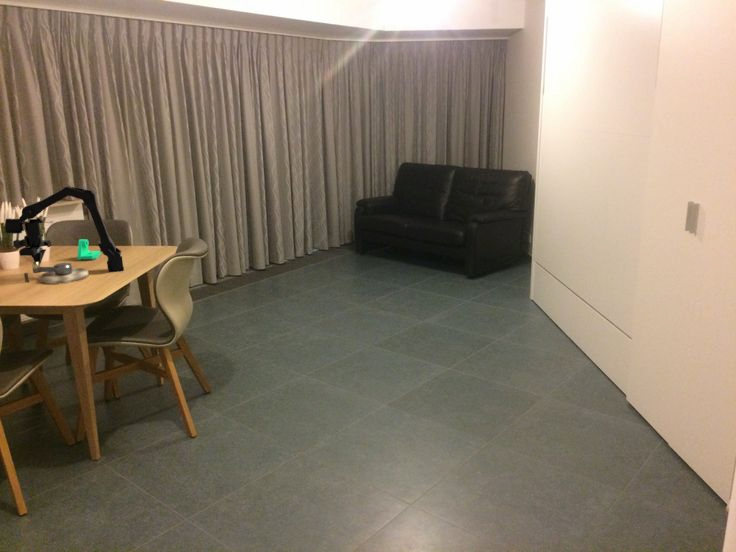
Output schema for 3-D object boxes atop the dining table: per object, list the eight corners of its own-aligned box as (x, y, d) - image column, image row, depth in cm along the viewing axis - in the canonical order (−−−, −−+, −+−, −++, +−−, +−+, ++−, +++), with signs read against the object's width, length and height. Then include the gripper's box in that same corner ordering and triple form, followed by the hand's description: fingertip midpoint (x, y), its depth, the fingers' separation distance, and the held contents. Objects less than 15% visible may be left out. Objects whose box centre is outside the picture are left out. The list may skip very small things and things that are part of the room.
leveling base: (89, 270, 274) (88, 262, 273) (87, 280, 256) (86, 272, 255) (28, 276, 265) (27, 268, 263) (22, 288, 247) (21, 279, 246)
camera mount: (93, 261, 293) (90, 241, 290) (78, 261, 292) (75, 242, 289) (101, 255, 304) (99, 236, 301) (87, 256, 304) (84, 237, 301)
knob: (75, 270, 264) (73, 259, 263) (68, 275, 258) (66, 262, 256) (37, 271, 264) (35, 259, 262) (29, 275, 257) (27, 263, 255)
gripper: (24, 228, 266) (29, 260, 271) (4, 237, 248) (9, 271, 253) (49, 228, 267) (54, 260, 272) (30, 237, 249) (36, 271, 254)
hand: (38, 265), depth 263 cm, fingers closed
